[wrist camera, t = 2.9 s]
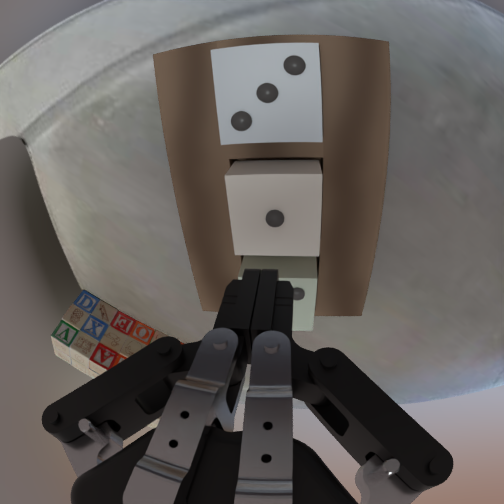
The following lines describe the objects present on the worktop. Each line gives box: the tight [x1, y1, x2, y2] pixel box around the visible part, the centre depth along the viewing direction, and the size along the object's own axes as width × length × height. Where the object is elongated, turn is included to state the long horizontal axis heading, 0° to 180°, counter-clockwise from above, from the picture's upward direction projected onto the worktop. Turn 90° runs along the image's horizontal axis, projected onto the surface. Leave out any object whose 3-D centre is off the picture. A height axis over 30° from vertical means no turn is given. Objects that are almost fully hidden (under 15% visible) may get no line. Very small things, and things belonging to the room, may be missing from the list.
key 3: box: [211, 43, 323, 145], centre depth 15 cm, size 6×6×3 cm
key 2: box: [238, 255, 318, 331], centre depth 24 cm, size 6×6×3 cm
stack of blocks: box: [51, 290, 184, 428], centre depth 34 cm, size 21×6×12 cm, turn 62°
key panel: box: [153, 35, 391, 316], centre depth 22 cm, size 16×24×3 cm, turn 5°
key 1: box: [225, 160, 322, 256], centre depth 20 cm, size 6×6×3 cm
